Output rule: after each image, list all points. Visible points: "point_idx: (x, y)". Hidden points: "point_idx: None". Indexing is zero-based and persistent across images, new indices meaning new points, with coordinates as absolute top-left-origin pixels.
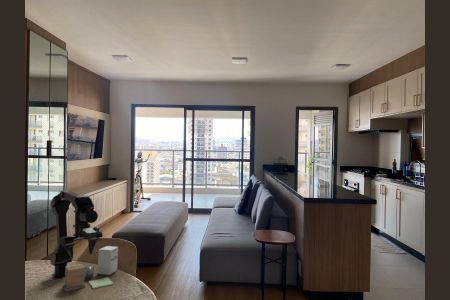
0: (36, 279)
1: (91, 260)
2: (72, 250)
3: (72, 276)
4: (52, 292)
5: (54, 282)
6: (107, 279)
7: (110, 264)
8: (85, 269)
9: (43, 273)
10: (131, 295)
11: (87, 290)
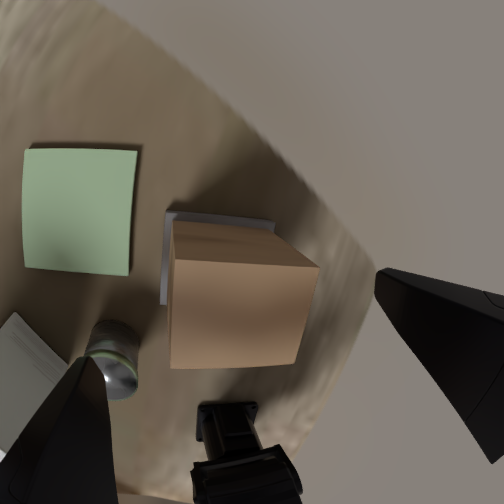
0: (305, 413)
1: None
2: (486, 306)
3: (264, 245)
4: (320, 250)
5: None
6: (31, 234)
7: None
8: (132, 368)
9: None
10: None
11: (172, 151)
